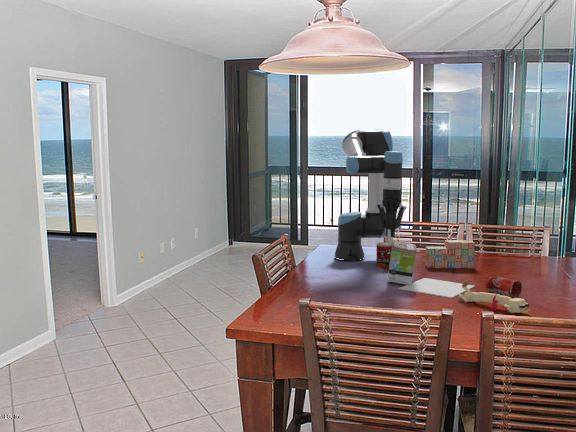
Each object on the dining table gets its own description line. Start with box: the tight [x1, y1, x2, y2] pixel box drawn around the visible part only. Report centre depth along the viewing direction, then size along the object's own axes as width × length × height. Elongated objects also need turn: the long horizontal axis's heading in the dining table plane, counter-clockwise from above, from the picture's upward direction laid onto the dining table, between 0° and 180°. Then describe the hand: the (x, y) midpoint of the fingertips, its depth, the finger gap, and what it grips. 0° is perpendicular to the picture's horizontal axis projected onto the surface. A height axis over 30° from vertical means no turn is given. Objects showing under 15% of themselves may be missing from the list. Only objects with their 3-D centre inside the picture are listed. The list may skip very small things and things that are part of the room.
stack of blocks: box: [424, 239, 476, 269], centre depth 260 cm, size 21×6×12 cm, turn 88°
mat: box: [398, 277, 476, 299], centre depth 222 cm, size 22×22×1 cm
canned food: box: [375, 241, 393, 269], centre depth 262 cm, size 8×8×11 cm
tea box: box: [387, 240, 417, 285], centre depth 232 cm, size 15×10×15 cm, turn 168°
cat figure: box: [457, 280, 531, 314], centre depth 195 cm, size 10×9×25 cm
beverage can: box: [485, 275, 523, 299], centre depth 210 cm, size 7×12×7 cm, turn 37°
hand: (390, 244), depth 234 cm, fingers closed
